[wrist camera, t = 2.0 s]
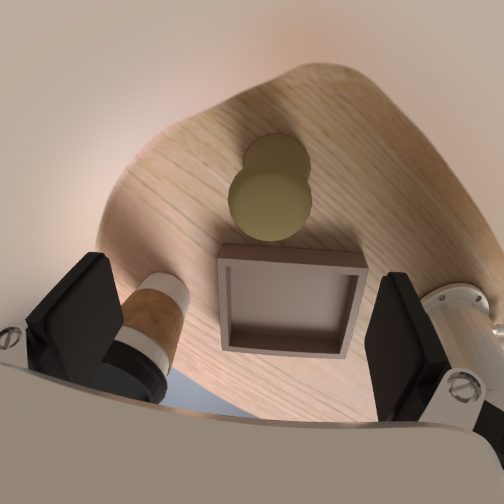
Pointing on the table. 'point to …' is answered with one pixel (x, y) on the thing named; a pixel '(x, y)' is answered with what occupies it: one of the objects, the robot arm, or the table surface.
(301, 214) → the tan tall rounded piece
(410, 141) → the table surface
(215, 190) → the table surface
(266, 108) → the table surface
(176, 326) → the coffee cup
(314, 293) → the lacquer tray
